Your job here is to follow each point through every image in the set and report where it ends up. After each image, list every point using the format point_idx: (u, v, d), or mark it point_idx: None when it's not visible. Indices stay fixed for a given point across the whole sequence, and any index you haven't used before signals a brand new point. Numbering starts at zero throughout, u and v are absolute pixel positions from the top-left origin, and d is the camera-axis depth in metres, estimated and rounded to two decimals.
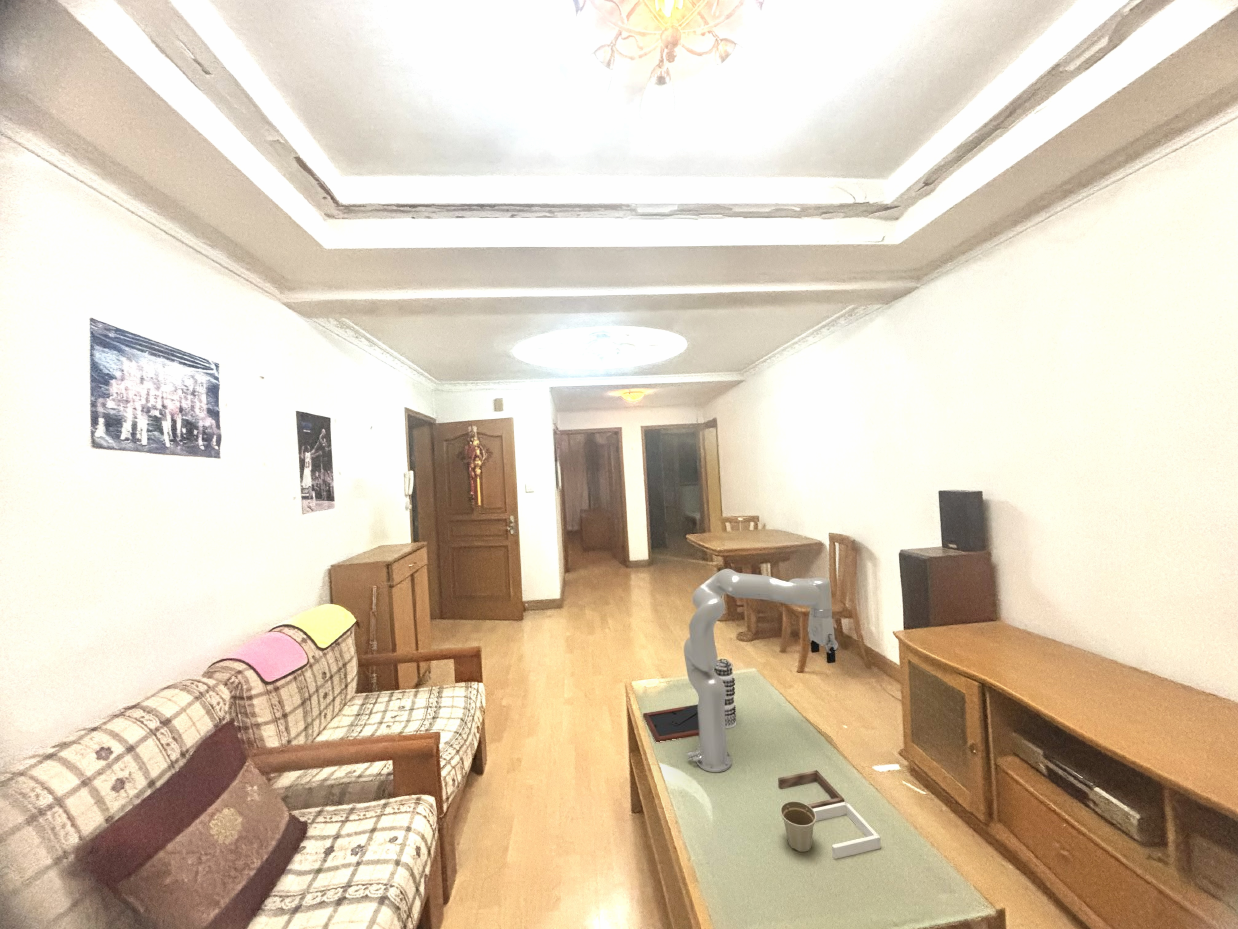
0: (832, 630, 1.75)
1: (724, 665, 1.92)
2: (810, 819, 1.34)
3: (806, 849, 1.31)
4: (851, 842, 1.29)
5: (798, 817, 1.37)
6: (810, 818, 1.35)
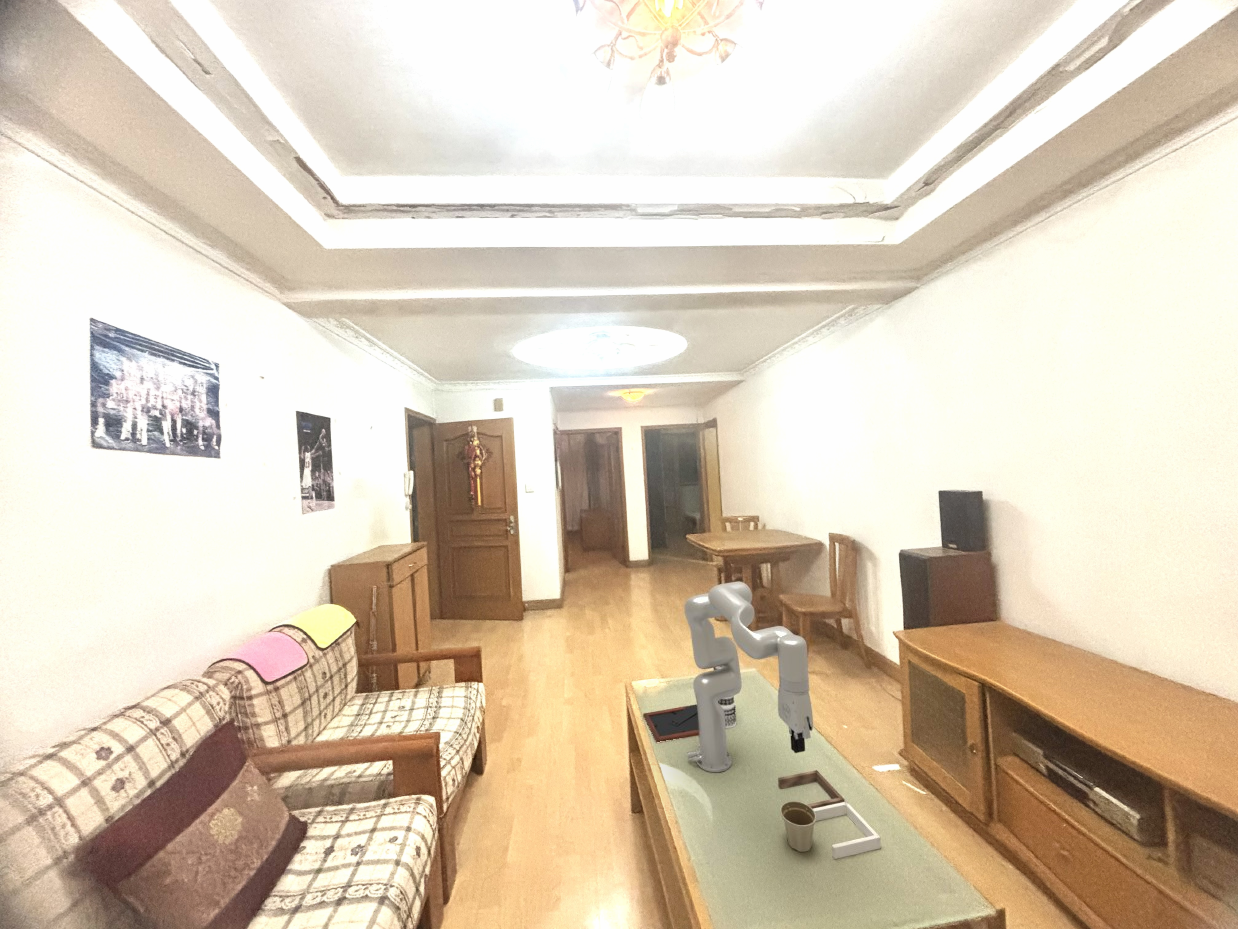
0: (810, 711, 1.26)
1: None
2: (810, 819, 1.34)
3: (806, 849, 1.31)
4: (851, 842, 1.29)
5: (798, 817, 1.37)
6: (810, 818, 1.35)
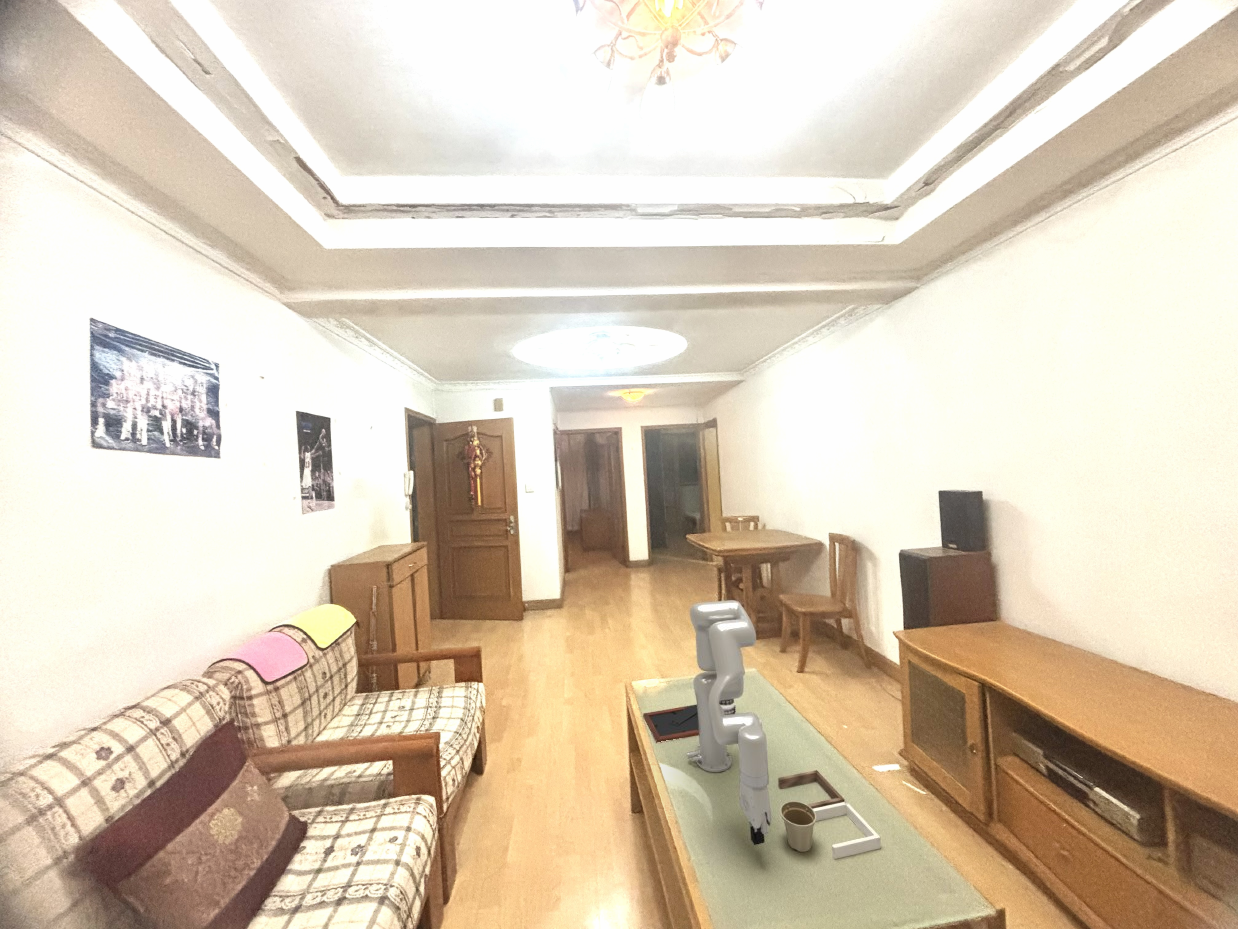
0: (768, 807, 1.27)
1: None
2: (810, 819, 1.34)
3: (806, 849, 1.31)
4: (851, 842, 1.29)
5: (798, 817, 1.37)
6: (810, 818, 1.35)
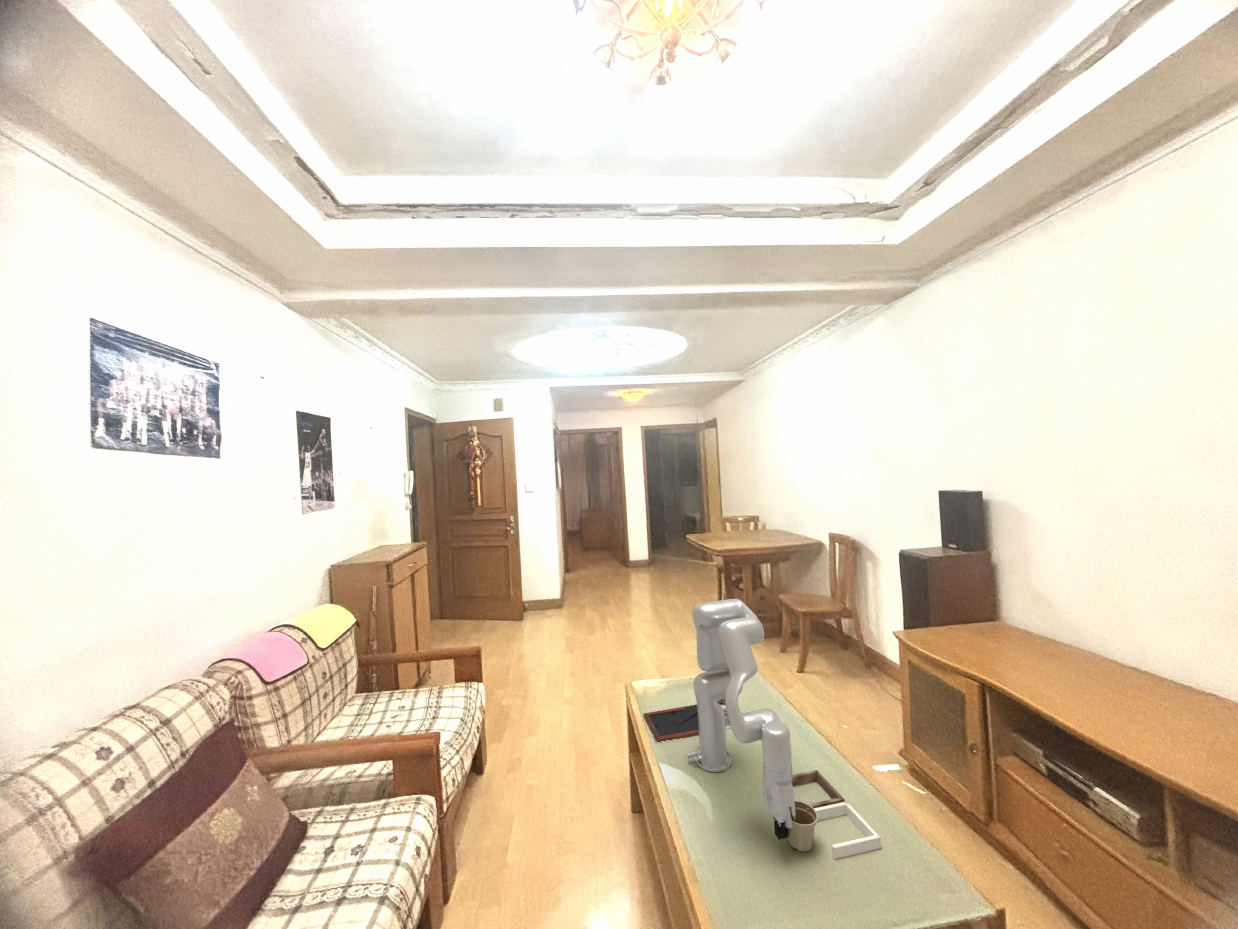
0: (792, 801, 1.28)
1: None
2: (812, 819, 1.34)
3: (807, 849, 1.31)
4: (851, 842, 1.29)
5: (799, 816, 1.37)
6: (811, 818, 1.35)
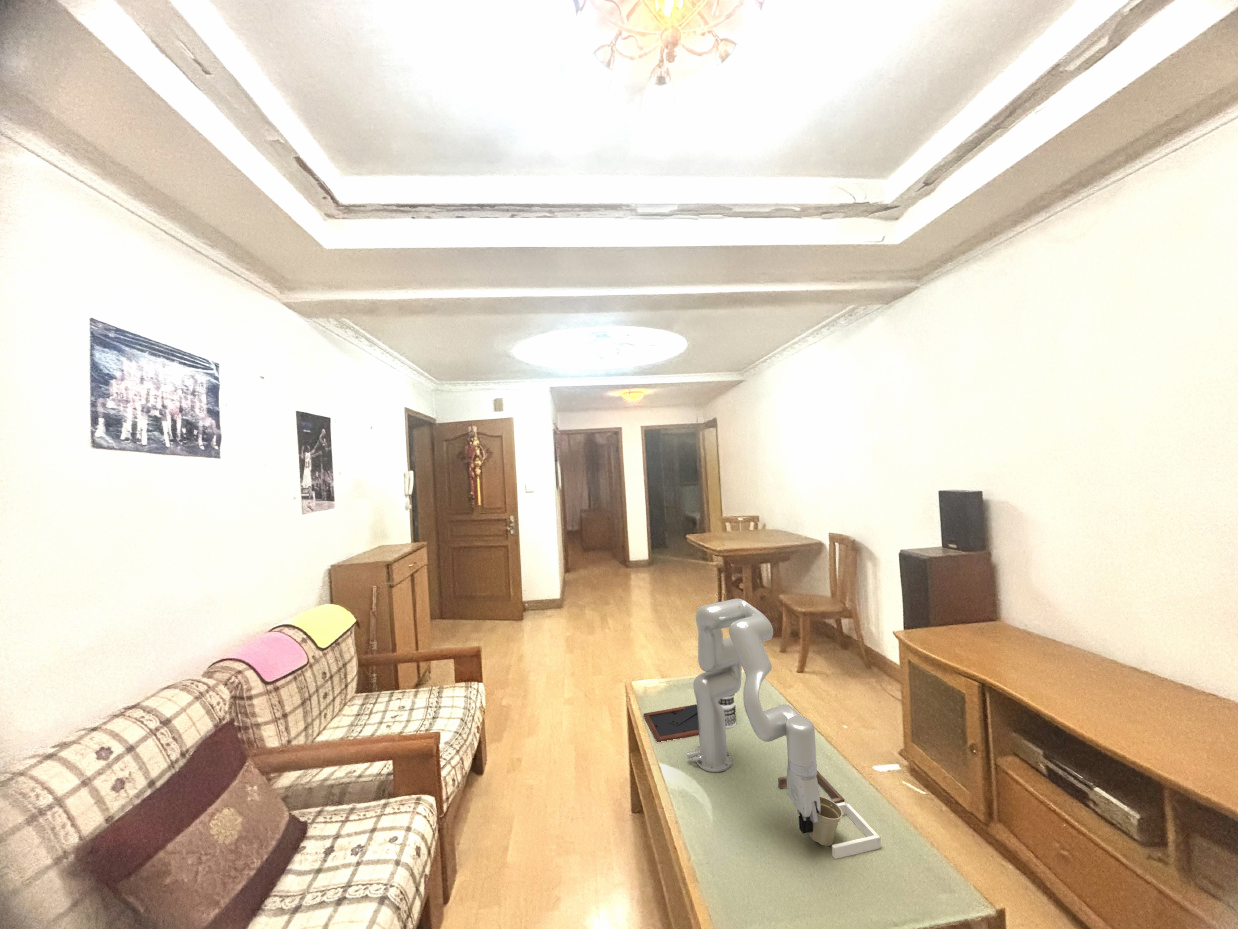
0: (817, 795, 1.29)
1: None
2: (835, 815, 1.35)
3: (829, 843, 1.32)
4: (851, 842, 1.29)
5: (821, 812, 1.38)
6: (834, 814, 1.36)
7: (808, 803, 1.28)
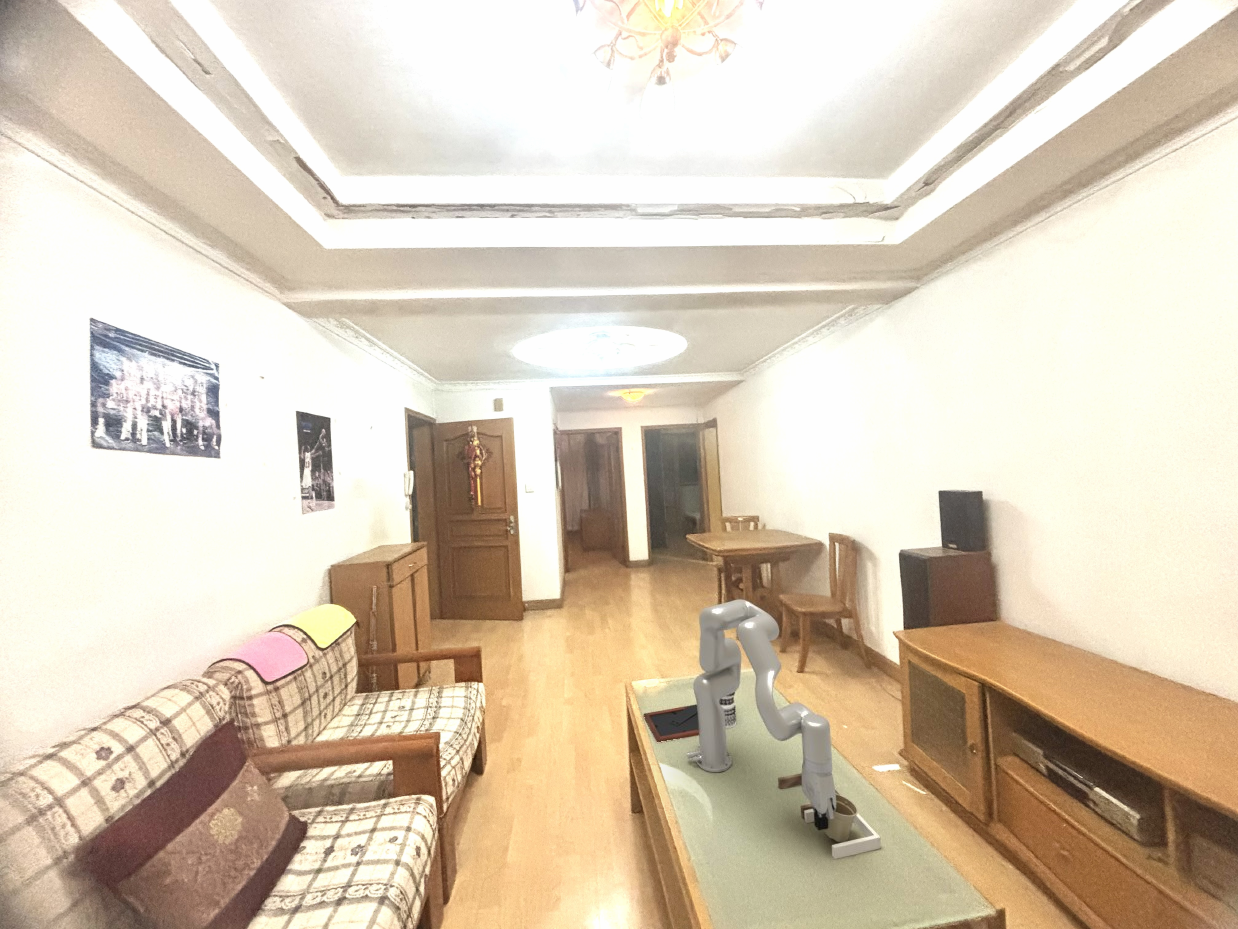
0: (833, 792, 1.30)
1: None
2: (850, 812, 1.36)
3: (844, 840, 1.32)
4: (851, 842, 1.29)
5: (836, 809, 1.39)
6: (849, 811, 1.36)
7: (824, 800, 1.29)
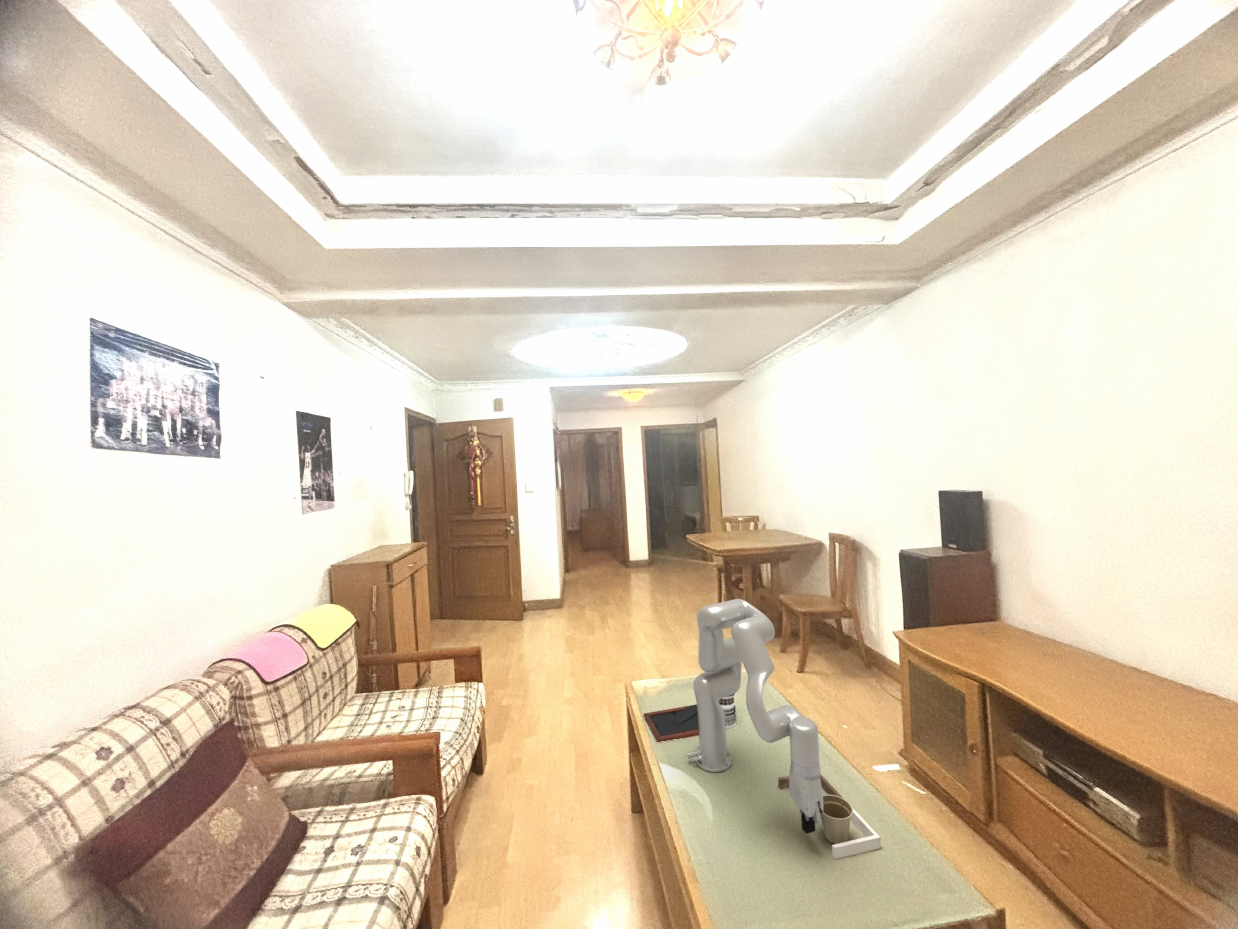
0: (820, 796, 1.30)
1: None
2: (846, 812, 1.36)
3: None
4: (851, 842, 1.29)
5: (834, 810, 1.39)
6: (846, 811, 1.36)
7: (812, 803, 1.29)
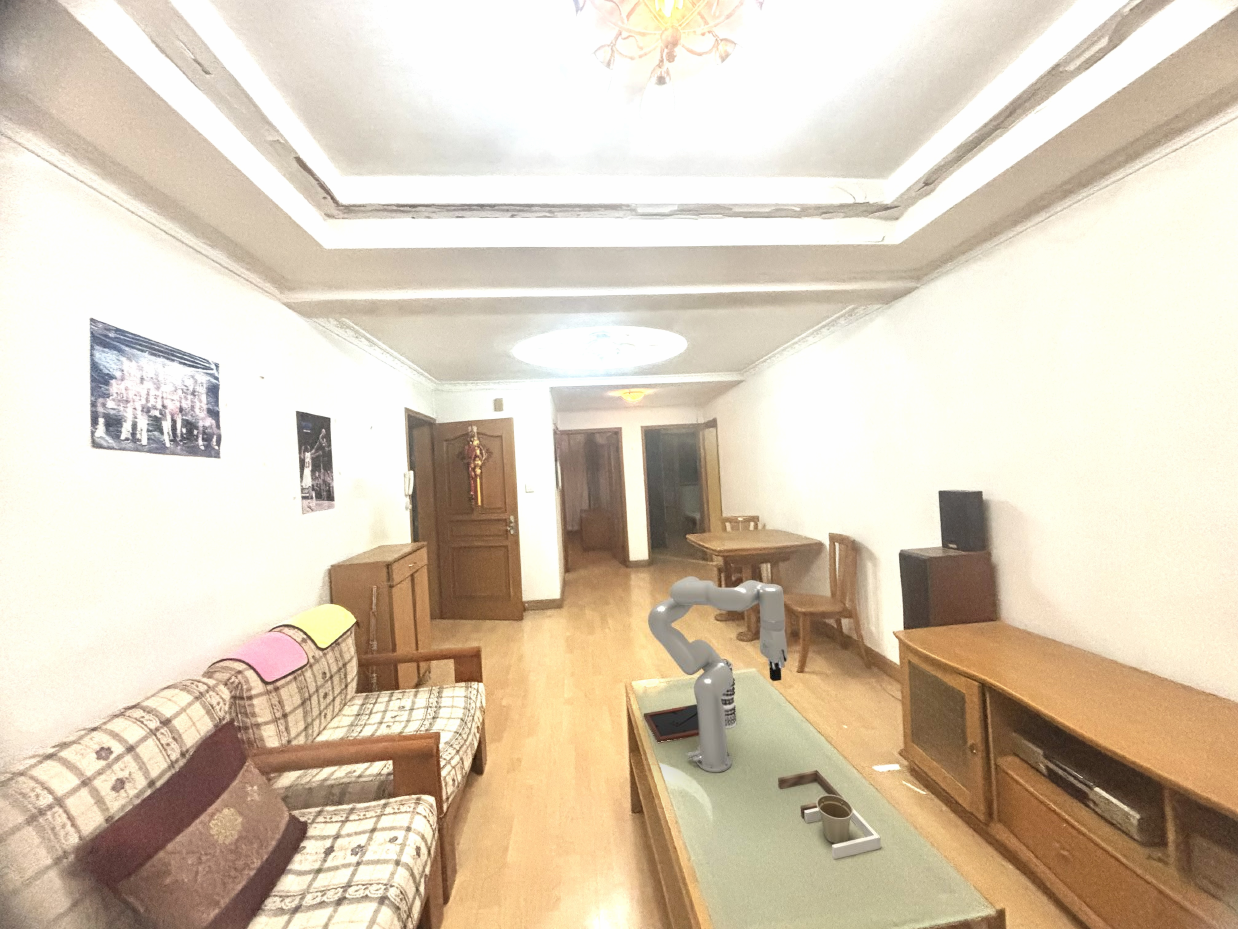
0: (784, 645, 1.51)
1: None
2: (846, 812, 1.36)
3: None
4: (851, 842, 1.29)
5: (834, 810, 1.39)
6: (846, 811, 1.36)
7: (777, 651, 1.51)
